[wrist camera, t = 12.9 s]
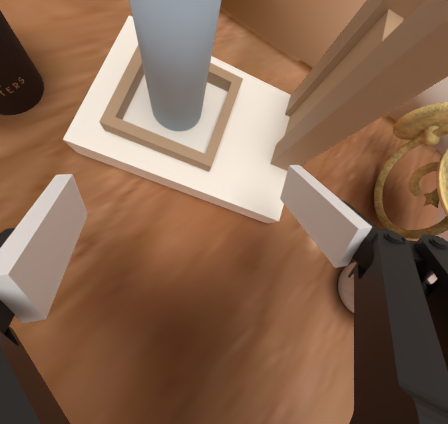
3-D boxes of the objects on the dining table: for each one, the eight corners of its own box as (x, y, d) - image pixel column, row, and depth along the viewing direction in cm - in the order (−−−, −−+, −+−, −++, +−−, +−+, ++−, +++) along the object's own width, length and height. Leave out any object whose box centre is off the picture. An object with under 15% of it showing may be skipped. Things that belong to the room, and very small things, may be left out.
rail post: (143, 118, 21) (81, -97, 8) (162, 77, 22) (136, -179, 9) (191, 138, 22) (212, -26, 8) (207, 98, 23) (250, -108, 9)
